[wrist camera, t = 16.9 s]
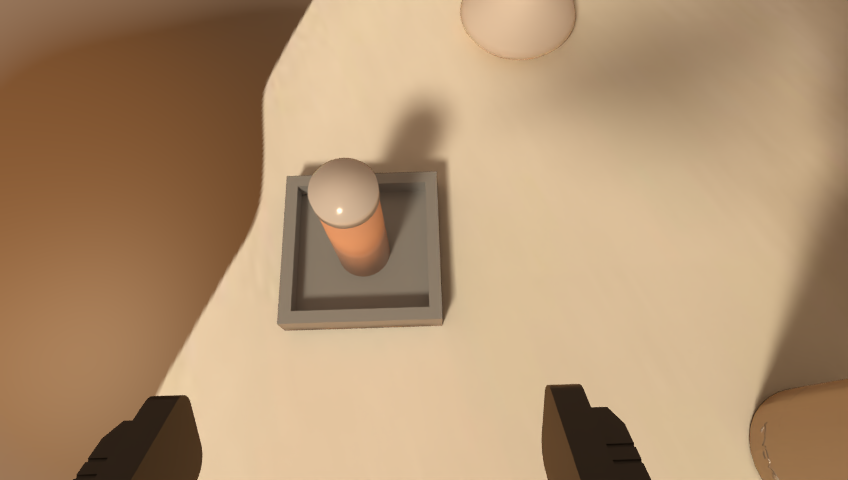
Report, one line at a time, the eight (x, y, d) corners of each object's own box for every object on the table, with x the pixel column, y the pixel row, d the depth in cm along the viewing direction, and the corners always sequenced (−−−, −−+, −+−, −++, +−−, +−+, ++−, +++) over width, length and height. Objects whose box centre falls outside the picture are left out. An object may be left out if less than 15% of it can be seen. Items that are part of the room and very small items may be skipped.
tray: (436, 184, 51) (436, 171, 49) (442, 325, 46) (442, 318, 44) (293, 189, 51) (286, 176, 49) (285, 330, 47) (277, 324, 44)
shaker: (390, 226, 49) (378, 156, 37) (391, 276, 47) (378, 220, 36) (337, 227, 49) (309, 159, 37) (336, 278, 47) (306, 223, 36)
